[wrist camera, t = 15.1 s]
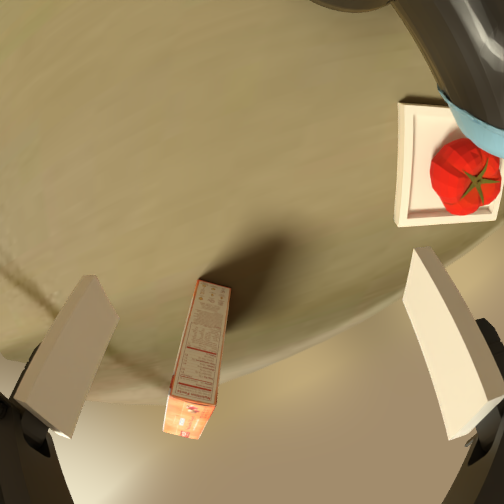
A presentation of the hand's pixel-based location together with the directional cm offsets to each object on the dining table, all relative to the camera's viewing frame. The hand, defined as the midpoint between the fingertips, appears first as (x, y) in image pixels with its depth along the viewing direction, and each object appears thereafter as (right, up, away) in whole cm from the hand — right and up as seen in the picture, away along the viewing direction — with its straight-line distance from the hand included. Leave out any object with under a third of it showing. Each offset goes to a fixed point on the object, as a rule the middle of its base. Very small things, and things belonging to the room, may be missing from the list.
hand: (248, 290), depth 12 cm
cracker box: (-7, -8, +39) cm, 41 cm away
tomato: (+28, +13, +21) cm, 37 cm away
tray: (+28, +13, +21) cm, 38 cm away
